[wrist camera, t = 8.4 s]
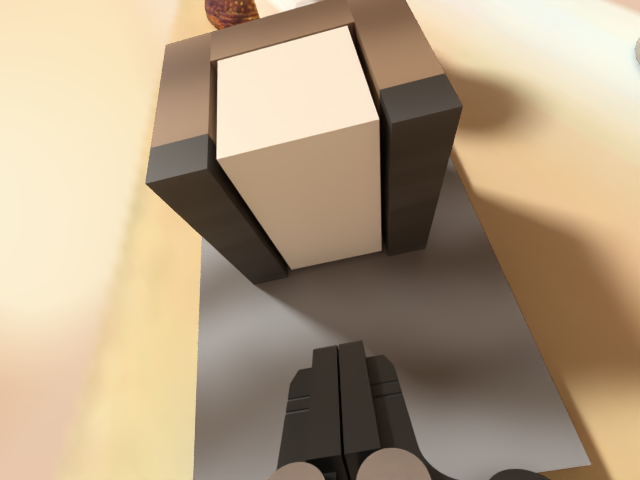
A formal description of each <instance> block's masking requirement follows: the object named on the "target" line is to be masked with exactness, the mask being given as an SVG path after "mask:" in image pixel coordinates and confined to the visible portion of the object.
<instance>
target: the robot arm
mask: <svg viewBox="0 0 640 480" xmlns="http://www.w3.org/2000/svg"><path fill="white" fill-rule="evenodd" d="M635 52H636V59H637V61H638V62H639V64H640V38H639V39H638V41H637V44H636V48H635ZM268 480H458V479H454V478H451V477H449V476H446V475H444V474H443V473H441V472H439V471H438V470H436V469H435V468H434V467H433V466H432V465H431V464H429V463H428V461H427V460H426V459H425V458H424V456H423V455H422V453H421V451H420V449H419V446H418V443H417V440H416V437H415V433H414V430H413V427H412V423H411V420H410V417H409V413H408V410H407V407H406V403H405V400H404V397H403V394H402V390H401V387H400V383H399V380H398V377H397V373H396V370H395V367H394V365H393V364H392V363H391V362H390V361H389V360H388V359H387V358H386V357H385V356H384V355H377V356H372V357H366V355H365V350H364V346H363V342H362V340H360V341H355V342H349V343H344V344H339V349H338V346H337V345H334V346H328V347H323V348H317V349H313V357H312V367H311V368H306V369H300V370H298V372H297V373H296V375H295V377H294V378H293V380H292V381H291V383H290V387H289V393H288V402H287V406H286V415H285V419H284V425H283V432H282V438H281V445H280V451H279V457H278V464H277V469H276V471H275V472H274V473H273V474H272V475H271V476H270V477H269V478H268ZM489 480H550V479H548V478H546V477H544V476H543V475H540V474H538V473H535V472H532V471H529V470H524V469H507V470H503V471H500V472H498V473H496V474H495V475H493V476H492V477H491V478H490V479H489Z"/></svg>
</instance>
